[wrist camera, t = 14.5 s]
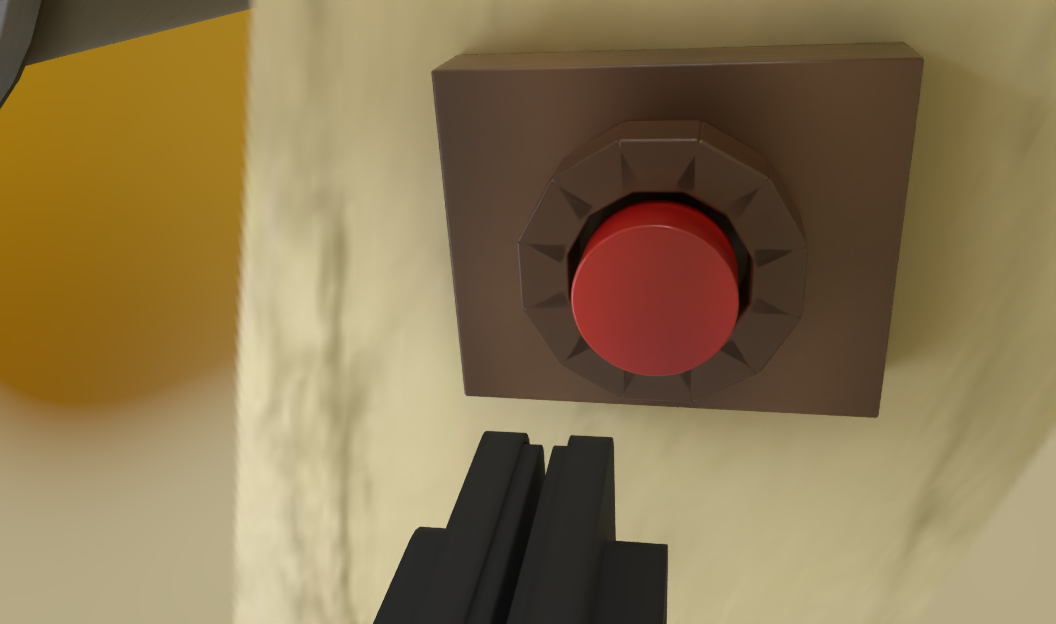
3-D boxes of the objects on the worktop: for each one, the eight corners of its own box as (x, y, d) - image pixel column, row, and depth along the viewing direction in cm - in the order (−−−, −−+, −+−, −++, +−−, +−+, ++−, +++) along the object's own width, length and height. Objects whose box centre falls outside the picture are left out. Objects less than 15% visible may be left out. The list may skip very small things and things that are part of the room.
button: (584, 338, 22) (573, 373, 20) (579, 198, 20) (566, 224, 18) (735, 344, 21) (735, 381, 19) (741, 199, 19) (742, 226, 18)
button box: (483, 359, 27) (446, 431, 23) (455, 54, 23) (405, 85, 19) (866, 376, 24) (890, 459, 21) (906, 42, 21) (943, 73, 17)
